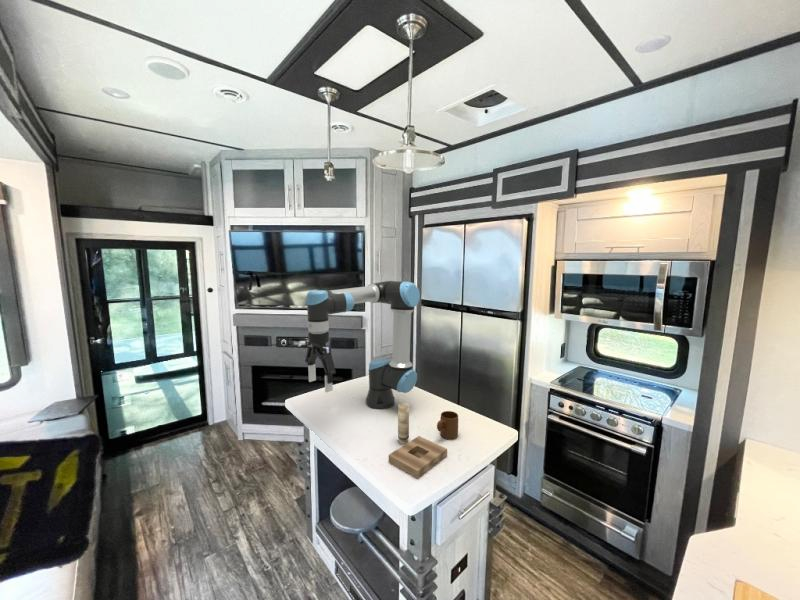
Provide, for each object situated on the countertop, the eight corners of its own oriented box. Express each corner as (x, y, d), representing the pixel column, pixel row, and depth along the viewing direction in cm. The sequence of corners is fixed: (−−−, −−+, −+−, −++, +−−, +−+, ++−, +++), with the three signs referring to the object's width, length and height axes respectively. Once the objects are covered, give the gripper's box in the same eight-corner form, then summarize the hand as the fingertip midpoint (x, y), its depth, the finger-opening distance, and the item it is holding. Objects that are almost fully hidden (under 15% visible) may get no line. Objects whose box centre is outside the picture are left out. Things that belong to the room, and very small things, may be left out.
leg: (402, 437, 139) (403, 401, 137) (411, 441, 136) (411, 405, 134) (395, 442, 136) (395, 405, 134) (403, 446, 133) (404, 408, 131)
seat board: (418, 442, 136) (418, 435, 135) (447, 456, 126) (447, 448, 126) (388, 462, 123) (388, 454, 122) (417, 479, 113) (417, 471, 113)
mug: (444, 446, 133) (445, 424, 132) (430, 439, 138) (430, 418, 137) (461, 435, 142) (462, 414, 140) (447, 429, 147) (447, 409, 146)
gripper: (295, 327, 130) (297, 379, 133) (325, 339, 111) (327, 399, 114) (312, 325, 135) (314, 374, 138) (344, 336, 116) (345, 393, 119)
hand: (320, 385), depth 126 cm, fingers open, 13 cm apart
